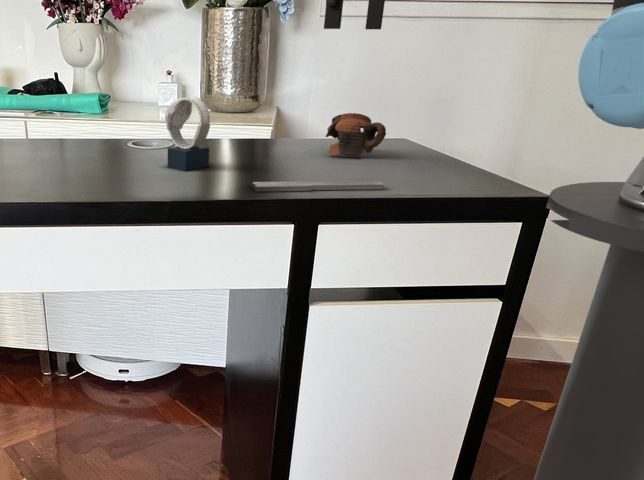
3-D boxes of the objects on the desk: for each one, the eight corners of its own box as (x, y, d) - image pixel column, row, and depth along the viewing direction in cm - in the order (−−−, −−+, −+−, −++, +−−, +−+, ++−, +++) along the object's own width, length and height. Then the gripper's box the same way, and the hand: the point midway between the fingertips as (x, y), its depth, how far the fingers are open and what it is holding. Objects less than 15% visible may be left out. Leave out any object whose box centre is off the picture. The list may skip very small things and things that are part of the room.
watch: (182, 161, 112) (183, 94, 107) (216, 168, 106) (218, 98, 102) (159, 165, 108) (158, 96, 103) (192, 172, 103) (194, 100, 98)
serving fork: (377, 186, 95) (378, 180, 95) (384, 190, 92) (385, 184, 92) (252, 187, 94) (252, 181, 93) (256, 191, 91) (256, 186, 91)
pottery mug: (313, 157, 118) (318, 115, 119) (337, 174, 125) (341, 134, 126) (374, 147, 110) (379, 101, 111) (396, 166, 117) (400, 123, 118)
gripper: (387, -108, 110) (370, 29, 120) (306, -132, 94) (293, 28, 104) (429, -114, 105) (407, 29, 115) (350, -140, 89) (333, 28, 99)
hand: (353, 29), depth 109 cm, fingers open, 13 cm apart
